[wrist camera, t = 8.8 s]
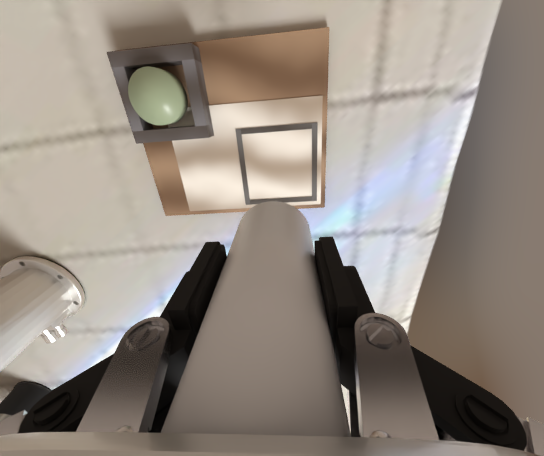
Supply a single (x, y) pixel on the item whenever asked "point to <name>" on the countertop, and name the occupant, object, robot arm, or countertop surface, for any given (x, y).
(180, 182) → the board
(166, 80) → the button
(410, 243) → the countertop surface
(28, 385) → the milk frother
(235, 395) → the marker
